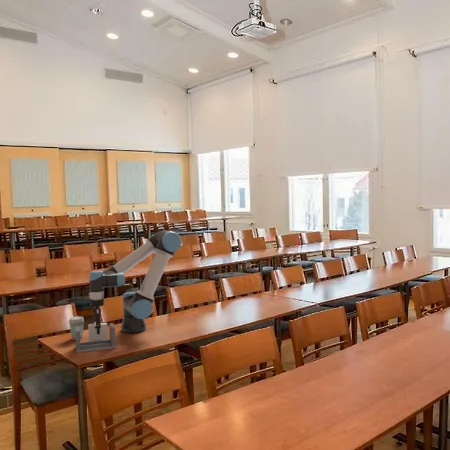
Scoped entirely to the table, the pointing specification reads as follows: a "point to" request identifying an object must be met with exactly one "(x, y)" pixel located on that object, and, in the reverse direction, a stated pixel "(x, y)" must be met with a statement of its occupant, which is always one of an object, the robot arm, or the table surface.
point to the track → (95, 342)
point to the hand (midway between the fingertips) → (97, 336)
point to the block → (93, 332)
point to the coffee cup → (76, 322)
